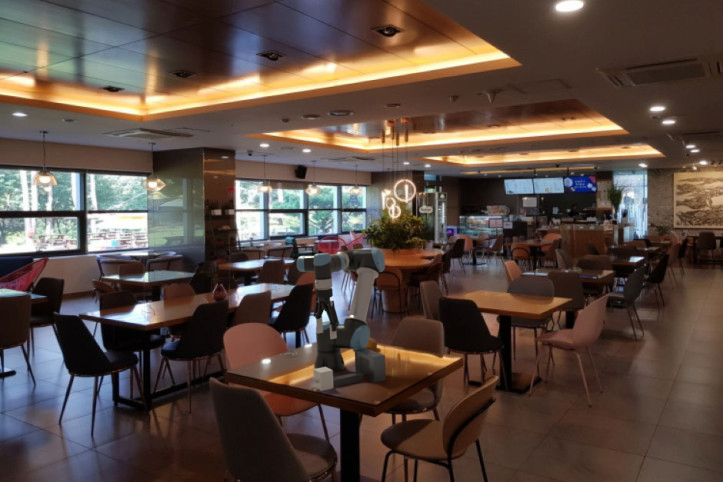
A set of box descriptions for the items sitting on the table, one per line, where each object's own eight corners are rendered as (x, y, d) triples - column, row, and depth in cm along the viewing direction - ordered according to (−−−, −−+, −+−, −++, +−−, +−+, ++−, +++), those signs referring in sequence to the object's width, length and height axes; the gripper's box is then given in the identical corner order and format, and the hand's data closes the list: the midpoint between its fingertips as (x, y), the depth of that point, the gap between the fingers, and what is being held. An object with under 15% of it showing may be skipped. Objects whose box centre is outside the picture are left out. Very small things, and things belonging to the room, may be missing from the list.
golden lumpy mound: (377, 350, 311) (377, 336, 312) (377, 353, 295) (377, 338, 296) (352, 350, 311) (352, 336, 312) (351, 353, 295) (351, 338, 296)
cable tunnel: (355, 374, 257) (354, 350, 256) (366, 371, 260) (365, 348, 259) (374, 382, 242) (373, 357, 242) (385, 380, 245) (384, 355, 245)
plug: (310, 387, 239) (310, 369, 239) (357, 377, 251) (356, 360, 251) (317, 391, 233) (317, 373, 233) (364, 381, 245) (364, 363, 245)
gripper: (304, 286, 248) (307, 332, 249) (328, 292, 226) (331, 342, 228) (319, 284, 252) (322, 329, 253) (344, 290, 230) (347, 339, 232)
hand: (326, 335), depth 240 cm, fingers open, 13 cm apart
